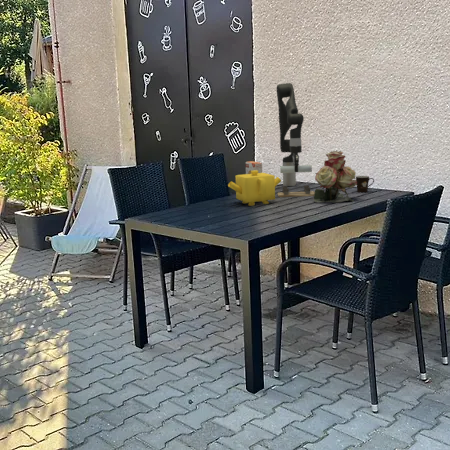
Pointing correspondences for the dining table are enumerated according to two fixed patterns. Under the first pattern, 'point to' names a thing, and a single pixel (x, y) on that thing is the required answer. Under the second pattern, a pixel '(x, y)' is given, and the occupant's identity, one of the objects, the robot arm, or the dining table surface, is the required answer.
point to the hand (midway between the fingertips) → (296, 171)
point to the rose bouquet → (334, 179)
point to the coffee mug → (363, 183)
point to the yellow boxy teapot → (255, 187)
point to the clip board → (296, 194)
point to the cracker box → (253, 167)
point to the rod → (292, 169)
